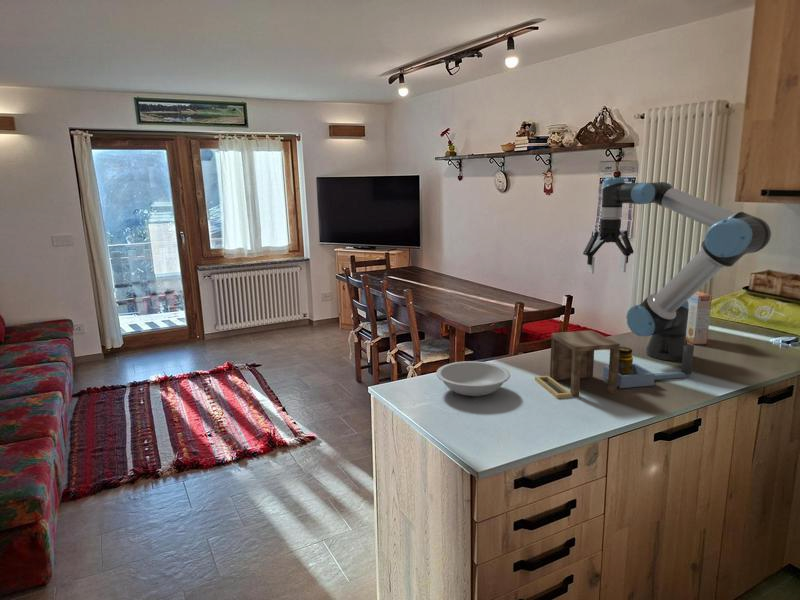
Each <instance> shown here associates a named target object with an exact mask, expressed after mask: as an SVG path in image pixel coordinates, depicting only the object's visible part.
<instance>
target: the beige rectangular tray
mask: <svg viewBox="0 0 800 600" xmlns="http://www.w3.org/2000/svg"><path fill="white" fill-rule="evenodd" d="M534 381H535V382H537V383H538V384H539V385H540V386H541V387H542V388H543V389H545V390H546V391H547V392H548V393H550V394H551V395H552V396H553V397H554V398H555V399H566V398H567V397H568V398H573V397H572V393H570V390H569V389H566V388H565V387H564V386H562V385H561V384H560V383H559V382H558V381H557V380H556V381H555V380H554V379H552V378H551V377H550V375H542V376H541V375H539V376H538V375H537V376H534Z"/></svg>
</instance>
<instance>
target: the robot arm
mask: <svg viewBox="0 0 800 600" xmlns="http://www.w3.org/2000/svg"><path fill="white" fill-rule="evenodd" d="M601 191H602V192H601V194H602V197H601V200H602V201H601V208H600V209H601V211H600V224H599V227H600V231H596V230H593V231H592V232H591V237H590V239H589V241H588V243H587V245H586V246H585V248H584V250H583V253H582V254H583V255H584V256H587V262H586V263H587V265H588V273H589V274H591V275H593V274H594V273H595V260H596V257H595V256H594V255H596V253H597V252H598V251H599V250H600V248H601V247H602V246H603V245H604V244H607V243H615V245H616V246H617V247H618V249H619V250H620V251H621V253H622V254H621V255H620V265H619V266H620V267H619V272H622V273H626V270H627V264H628V263H629V257H630V256H631V255H632V254H634V249H633V246H632V244H631V241H630V238H629V236H628V234H629V232H628V230H626V229H623V230H621V227H622V219H621V218H622V216H623V204H634V205H635V204H636V205H647V204H656V205H659V206H661V207H663V208H665V209H668V210H670V211H671V212H672V211H673V212H675V213H676V214H680V215H681V216H684V217H686V218H689V219H690V220H692V221H695V222H697V223H699V224H702V225H704V226H706V227H709V228H708V229H707V231H706V234H705V235H704V237H705V238H704V240H703V241H701V243H700V247H701V249H700V251H698V252H697V254H696V255H695V256H694V257H693V258H692V259H690V260H689V262H687V263H686V265H684V267H682V269H681V270H679V271H678V272H677V273H676V274H675V275H674V277H672V279H670V280H669V282H667V283H666V284H665V285H664V286H663V288H660V290H659V291H658V292H657V293H656V294H654V293H653V294H652V293H651V294H649V295H648V296H647V297H646V298H645V299H644V300H643V301H642V302H641V303H640V304H638V305H637V304H636V305H633V306H632V307H630V308H629V309H628V310H627V313H626V317H625V318H626V323H627V326H628V329H629V330H630V331H631V332H632V333H633V334H634V335H636V336H638V337H650V339H649V342H648V344H647V346H646V350H645V351H646V352H645V354H646V355H647V356H649V357H651V358H653V359H658V360H664V361H671V362H677V361H679V362H680V361H681V362H682V357H683V346H684V344H688V341H687V340H686V331H687V321H688V311H689V302H688V301H687V300H688V299H689V298H690V297H691V296H692V295H693V294H695V293H696V292H697V291H699V290H700V289H701V288H702V287H703V286H705V284H707V282H709V281H710V280H711V279H712V278H713V277H714V276H715V275H717V274H718V273H719V272H720V271H721V270H722V269H723V268H731V267H732V266H734V265H735V264H736V263H737V262H738V261H739V260H740V259H741V258H743V256H745V255H747V254H753V253H757V252H760V251H762V249H765V248H766V246H767V245H768V244H769V243H770V240H771V236H772V231H771V227H770V225H769V223H767V222H766V221H765V220H763V219H762V218H760V217H757V216H755V215H751V214H749V213H746V212H744V211H738V212H734V211H732V210H730V209H727V208H725V207H722V206H720V205H717V204H715V203H712V202H709V201H707V200H705V199H703V198H700V197H697V196H695V195H692V194H690V193H687V192H686V191H685V192H684V191H683V190H680V189H678V188H674V187H673V185H672V184H671V183H669V182H664V181H660V182H658V181H657V182H656V181H655V182H629V183H628V182H625V178H624V177H605V178H604V180H603V184H602V189H601ZM620 236H621V239H622V240H621V239H620V238H619V237H620Z"/></svg>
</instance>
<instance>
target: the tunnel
mask: <svg viewBox="0 0 800 600" xmlns="http://www.w3.org/2000/svg"><path fill="white" fill-rule="evenodd" d="M550 340H551V342H550V360H549V361H550V362H549V363H550V365H549V366H550V369H549V371H550V372H549V376H550V377H551V378H552V379H554V380H555V381H556V382H557V381H559V380H560V381H561V380H569V379H570V388H569V389H570V390H569V392H570V393H572V396H573V397H572V398H576V397H577V398H579V397H580V386H581V385H580V384H581V379H583V378H584V379H585V378H587V379H589V378H590V379H591V378H594V364H595V363H594V362H595V351H603V350H609V363H608V364H609V365H608V366H609V377H608V384H607V392H608V393H609V394H617V392H618V386H617V381H618V365H619V350H620V347H621V343H619V342H618V341H615V340H613V339H611V338H609V337H607V336H605V335H603V334H601V333H599V332H597V331H594V330H591V329H590V330H576V331H561V332H551V339H550Z"/></svg>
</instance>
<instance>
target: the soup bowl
mask: <svg viewBox="0 0 800 600" xmlns="http://www.w3.org/2000/svg"><path fill="white" fill-rule="evenodd" d="M435 374H436V377H437V379H439V380H440V381H442V382H443V384H444V385H445V386H446V387H447V388H448V389H449V390H450V391H452V392H454V393H456V394H459V395H462V396H469V397H480V396H487V395H490V394H492V393H494V392H495V391H497V390H499V389H500V388H501V387H502V386H503V384H504V383H506V382H507V381H509V379H510V378H511V372H510V370H508V368H505V367H504V366H501V365H499V364H496V363H490V362H487V361H486V362H485V361H473V360H469V361H468V360H467V361H455V362H451V363H447V364H444V365H442V366H440V367H439V368H437V370H436V373H435Z"/></svg>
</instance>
